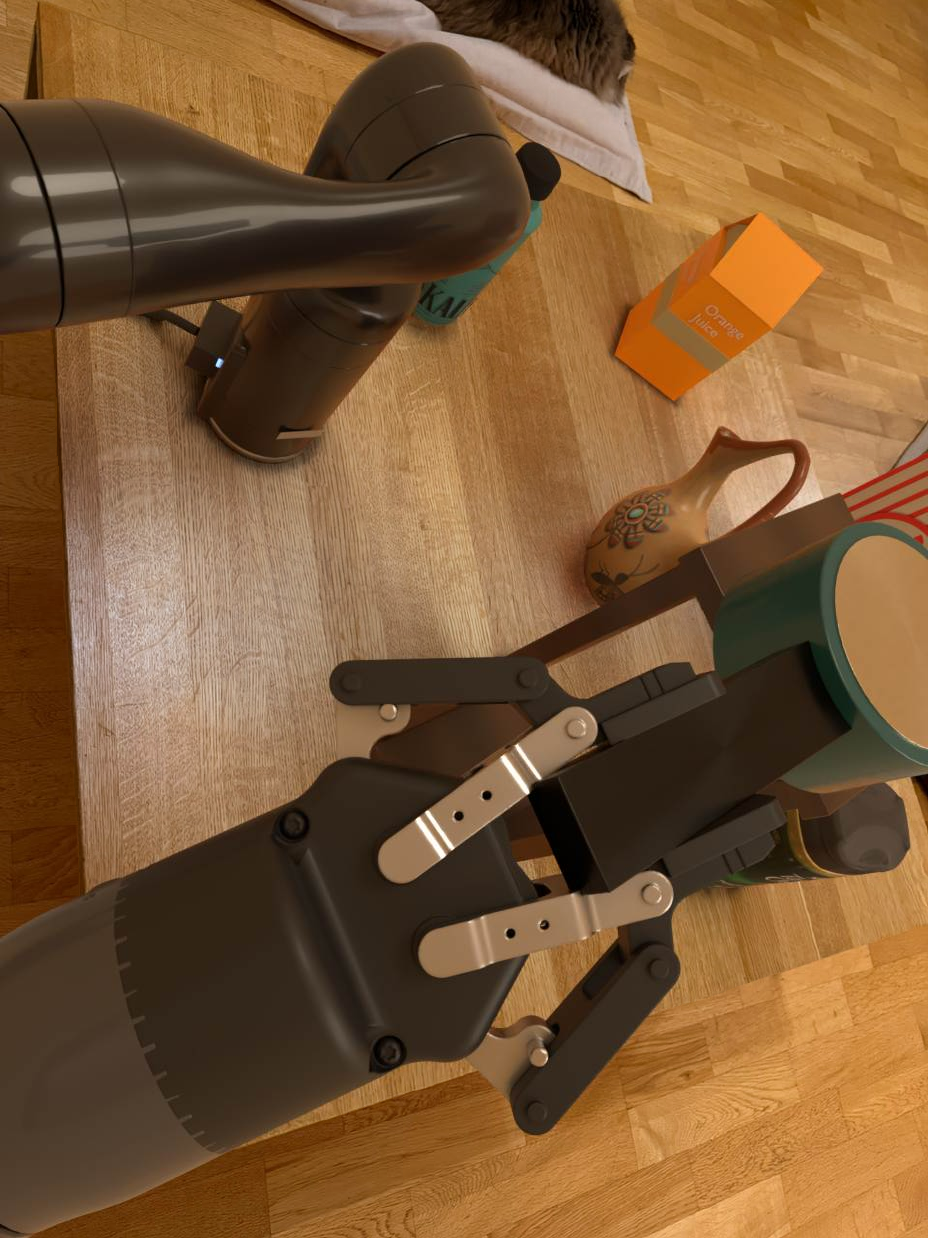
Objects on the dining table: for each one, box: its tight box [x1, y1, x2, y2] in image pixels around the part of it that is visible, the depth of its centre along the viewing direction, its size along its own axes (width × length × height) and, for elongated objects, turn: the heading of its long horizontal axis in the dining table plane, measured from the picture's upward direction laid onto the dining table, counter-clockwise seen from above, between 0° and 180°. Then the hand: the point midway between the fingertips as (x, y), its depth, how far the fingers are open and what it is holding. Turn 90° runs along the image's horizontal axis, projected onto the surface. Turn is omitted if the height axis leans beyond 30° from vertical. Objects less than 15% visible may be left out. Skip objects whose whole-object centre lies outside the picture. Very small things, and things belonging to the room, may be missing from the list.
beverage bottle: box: [412, 141, 562, 327], centre depth 81 cm, size 6×7×20 cm
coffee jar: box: [706, 782, 911, 889], centre depth 78 cm, size 10×8×19 cm
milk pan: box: [527, 522, 928, 896], centre depth 31 cm, size 20×9×5 cm, turn 118°
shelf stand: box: [371, 492, 869, 863], centre depth 61 cm, size 16×13×37 cm
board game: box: [841, 451, 928, 550], centre depth 86 cm, size 20×6×27 cm, turn 5°
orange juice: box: [614, 211, 825, 402], centre depth 96 cm, size 8×9×20 cm
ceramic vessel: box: [583, 425, 812, 607], centre depth 80 cm, size 16×9×25 cm, turn 167°
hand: (739, 744), depth 27 cm, fingers closed on milk pan, 3 cm apart
